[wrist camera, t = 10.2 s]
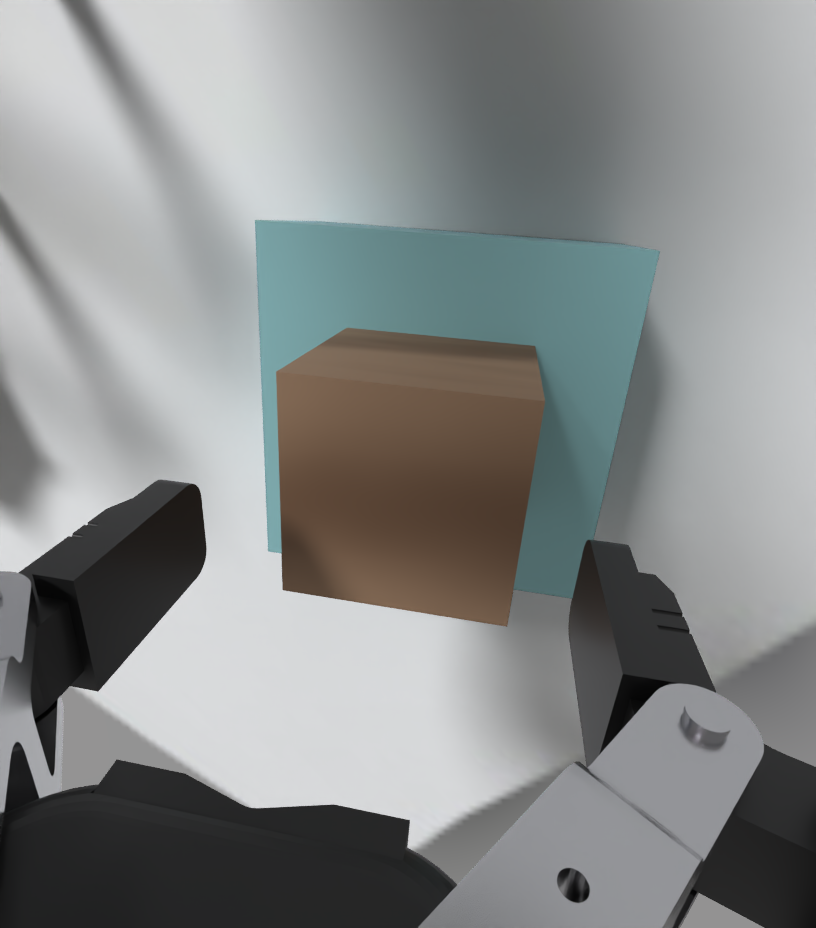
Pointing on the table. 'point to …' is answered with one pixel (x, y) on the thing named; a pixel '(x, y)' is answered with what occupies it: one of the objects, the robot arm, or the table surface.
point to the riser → (475, 318)
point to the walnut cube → (408, 470)
